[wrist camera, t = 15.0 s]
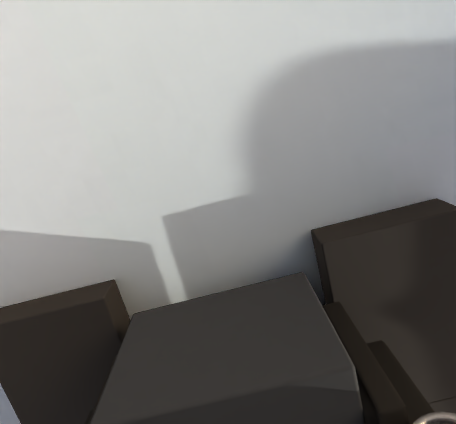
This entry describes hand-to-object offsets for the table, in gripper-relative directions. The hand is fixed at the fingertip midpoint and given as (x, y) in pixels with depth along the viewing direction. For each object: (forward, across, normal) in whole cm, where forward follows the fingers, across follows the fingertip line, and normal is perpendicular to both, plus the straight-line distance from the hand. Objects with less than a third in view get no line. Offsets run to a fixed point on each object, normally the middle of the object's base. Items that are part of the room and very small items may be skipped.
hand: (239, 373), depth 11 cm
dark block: (0, 0, 0) cm, 0 cm away
